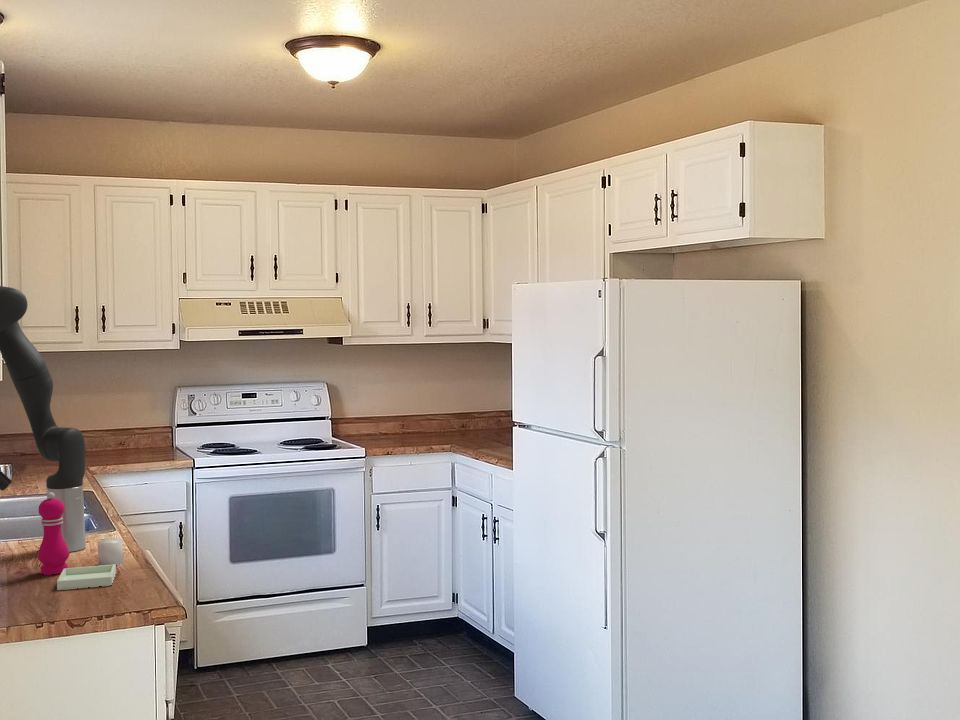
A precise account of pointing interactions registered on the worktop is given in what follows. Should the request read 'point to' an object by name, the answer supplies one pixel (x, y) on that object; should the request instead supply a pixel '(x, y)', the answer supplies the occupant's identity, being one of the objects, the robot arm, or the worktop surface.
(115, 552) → the grey rounded block
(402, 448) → the worktop surface
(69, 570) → the tray
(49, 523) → the pepper mill
